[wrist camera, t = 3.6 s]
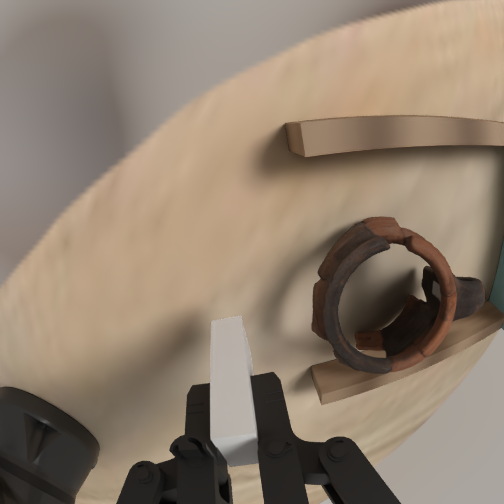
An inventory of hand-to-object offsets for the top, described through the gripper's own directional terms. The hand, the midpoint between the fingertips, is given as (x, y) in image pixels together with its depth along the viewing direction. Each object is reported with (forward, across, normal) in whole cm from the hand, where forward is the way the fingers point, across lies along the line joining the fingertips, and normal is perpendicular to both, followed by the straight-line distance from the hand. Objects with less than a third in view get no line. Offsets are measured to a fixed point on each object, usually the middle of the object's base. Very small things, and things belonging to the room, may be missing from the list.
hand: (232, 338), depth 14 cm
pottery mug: (+4, -10, +1) cm, 11 cm away
